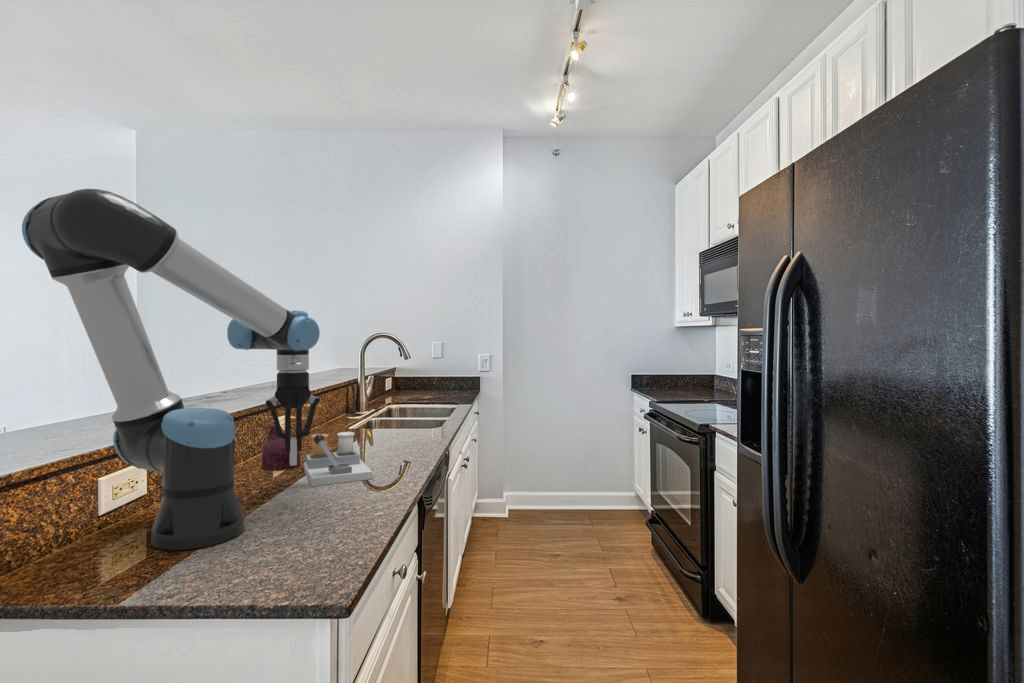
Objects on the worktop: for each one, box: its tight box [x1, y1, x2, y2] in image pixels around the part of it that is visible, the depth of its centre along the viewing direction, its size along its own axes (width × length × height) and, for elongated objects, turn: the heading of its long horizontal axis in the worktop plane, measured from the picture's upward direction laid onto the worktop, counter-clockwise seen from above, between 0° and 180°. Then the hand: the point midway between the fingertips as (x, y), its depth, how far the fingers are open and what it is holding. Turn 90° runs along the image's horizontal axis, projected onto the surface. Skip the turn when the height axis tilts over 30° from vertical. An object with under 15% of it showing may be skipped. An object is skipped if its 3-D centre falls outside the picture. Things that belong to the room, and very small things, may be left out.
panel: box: [303, 449, 373, 487], centre depth 141 cm, size 15×18×4 cm
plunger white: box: [336, 431, 355, 453], centre depth 146 cm, size 5×5×5 cm
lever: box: [314, 433, 340, 468], centre depth 135 cm, size 3×3×11 cm
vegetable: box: [261, 420, 301, 472], centre depth 148 cm, size 10×10×15 cm
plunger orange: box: [310, 433, 329, 455], centre depth 143 cm, size 5×5×5 cm
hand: (293, 464), depth 132 cm, fingers closed
